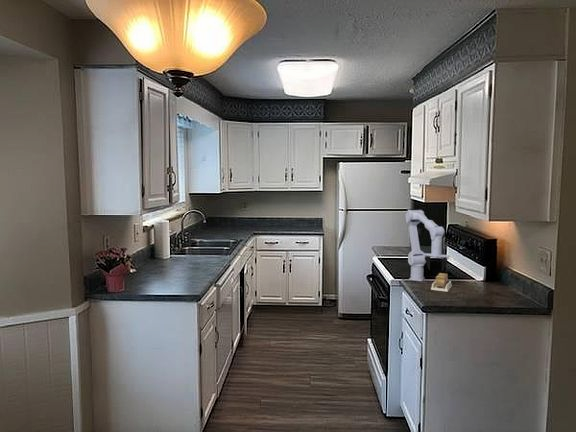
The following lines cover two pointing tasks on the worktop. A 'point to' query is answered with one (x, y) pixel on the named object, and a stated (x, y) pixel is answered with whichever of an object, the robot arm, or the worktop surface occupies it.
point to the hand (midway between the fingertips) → (435, 270)
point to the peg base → (441, 287)
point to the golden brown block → (441, 279)
